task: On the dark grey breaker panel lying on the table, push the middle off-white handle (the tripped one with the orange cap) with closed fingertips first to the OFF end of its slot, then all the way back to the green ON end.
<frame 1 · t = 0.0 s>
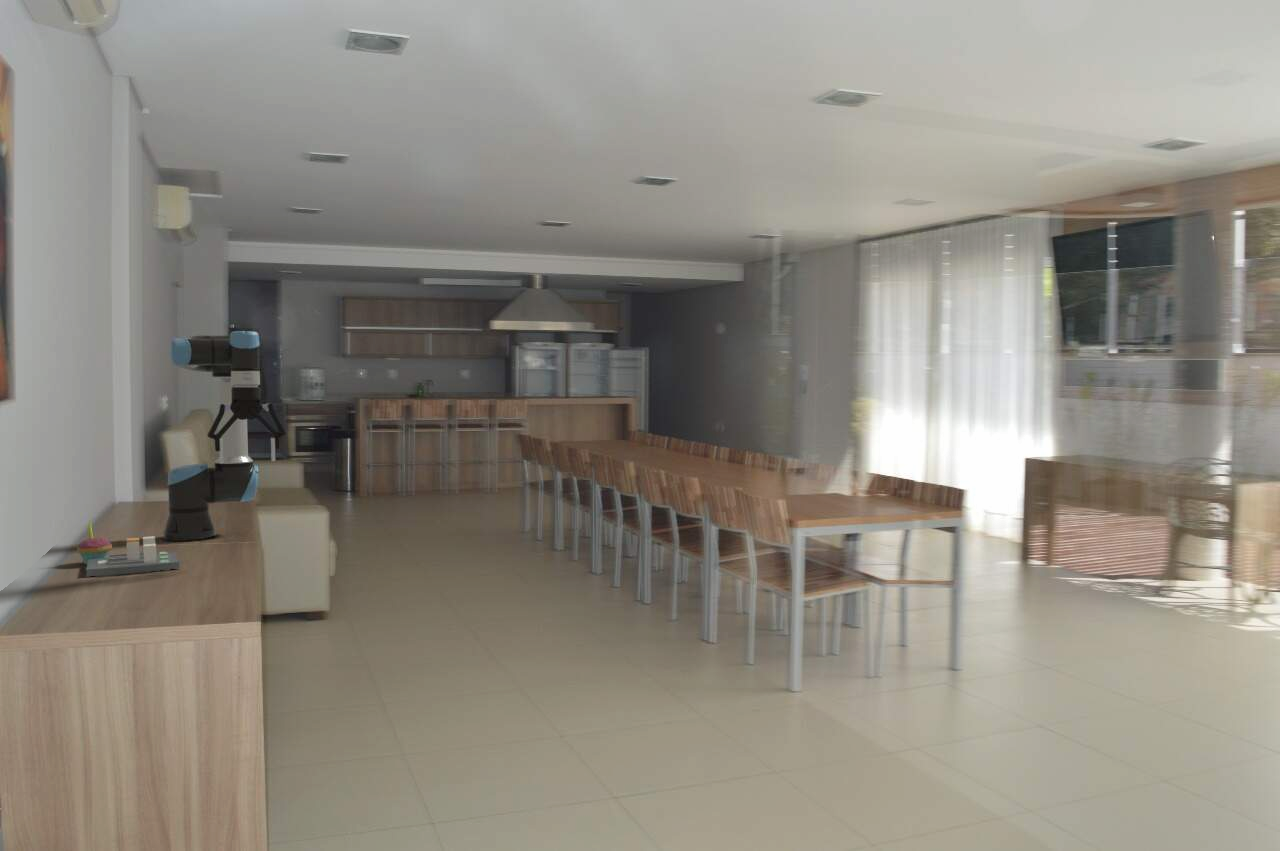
hand: (247, 462, 276), 28 cm above the table, tool pointing down, fingers open, 13 cm apart
cupcake: (95, 564, 274), on the table
panel: (133, 567, 268), on the table
breaker handle: (133, 549, 268), point 5 cm above the table, slide at 4.0 cm
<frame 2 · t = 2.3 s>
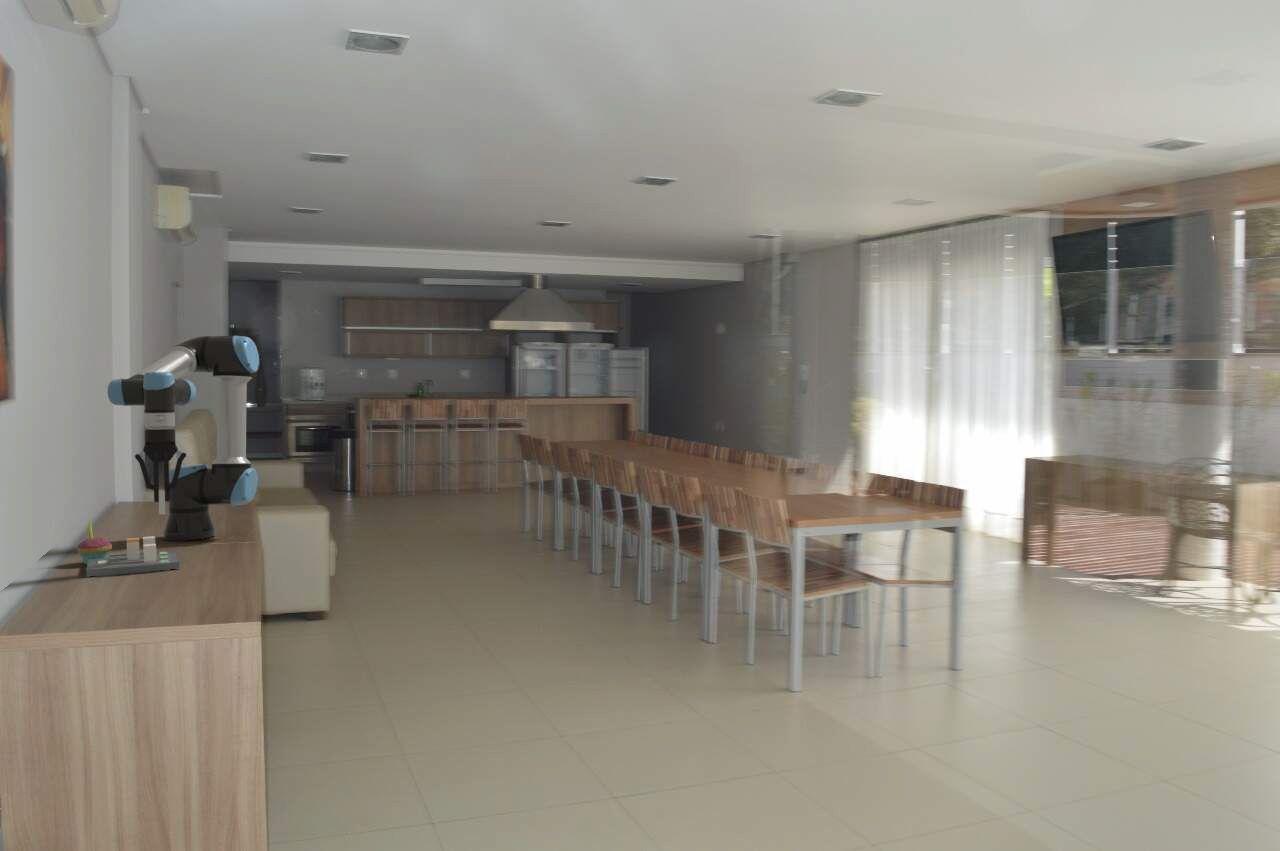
hand: (162, 513, 271), 14 cm above the table, tool pointing down, fingers closed
nothing on the table moved.
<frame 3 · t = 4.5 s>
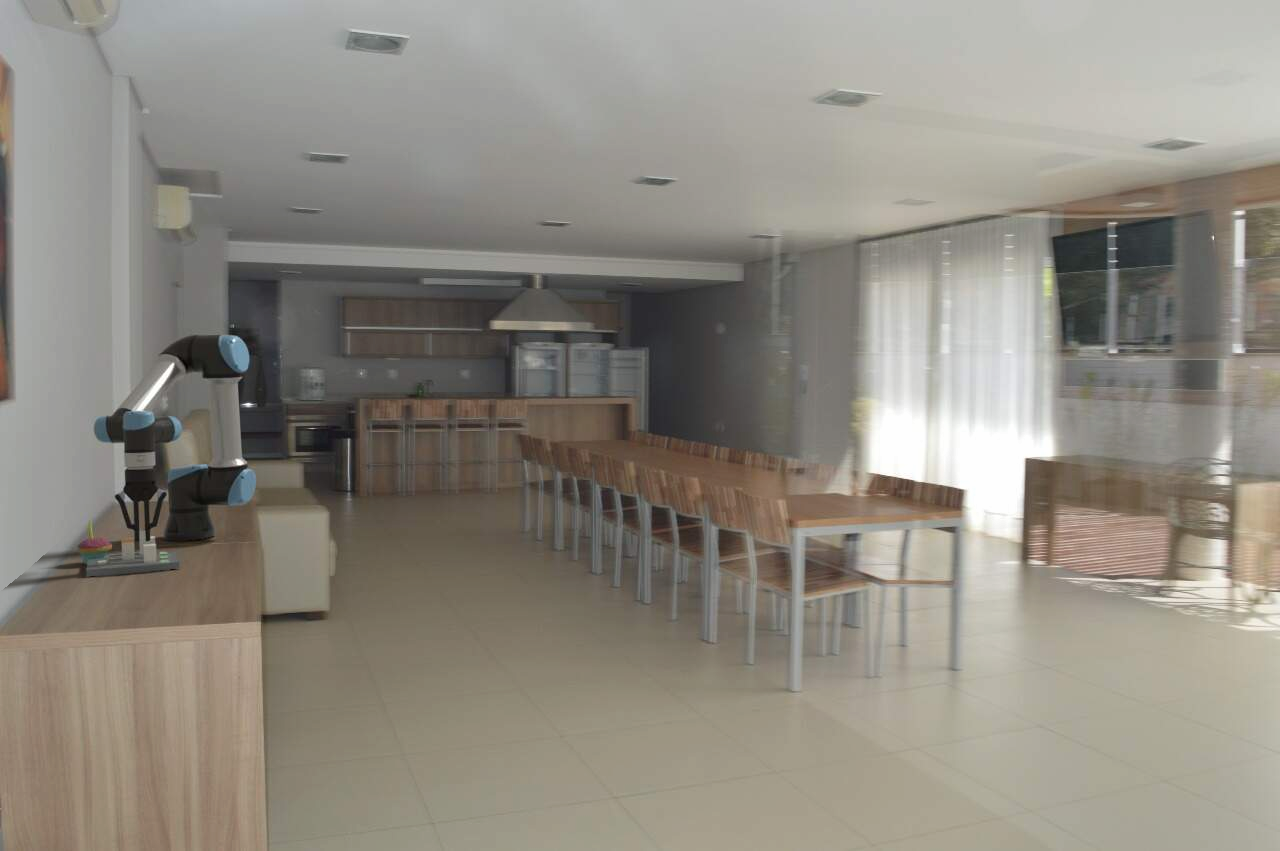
hand: (142, 553, 269), 4 cm above the table, tool pointing down, fingers closed
breaker handle: (128, 549, 268), point 5 cm above the table, slide at 2.8 cm, touching gripper
everything else where it was.
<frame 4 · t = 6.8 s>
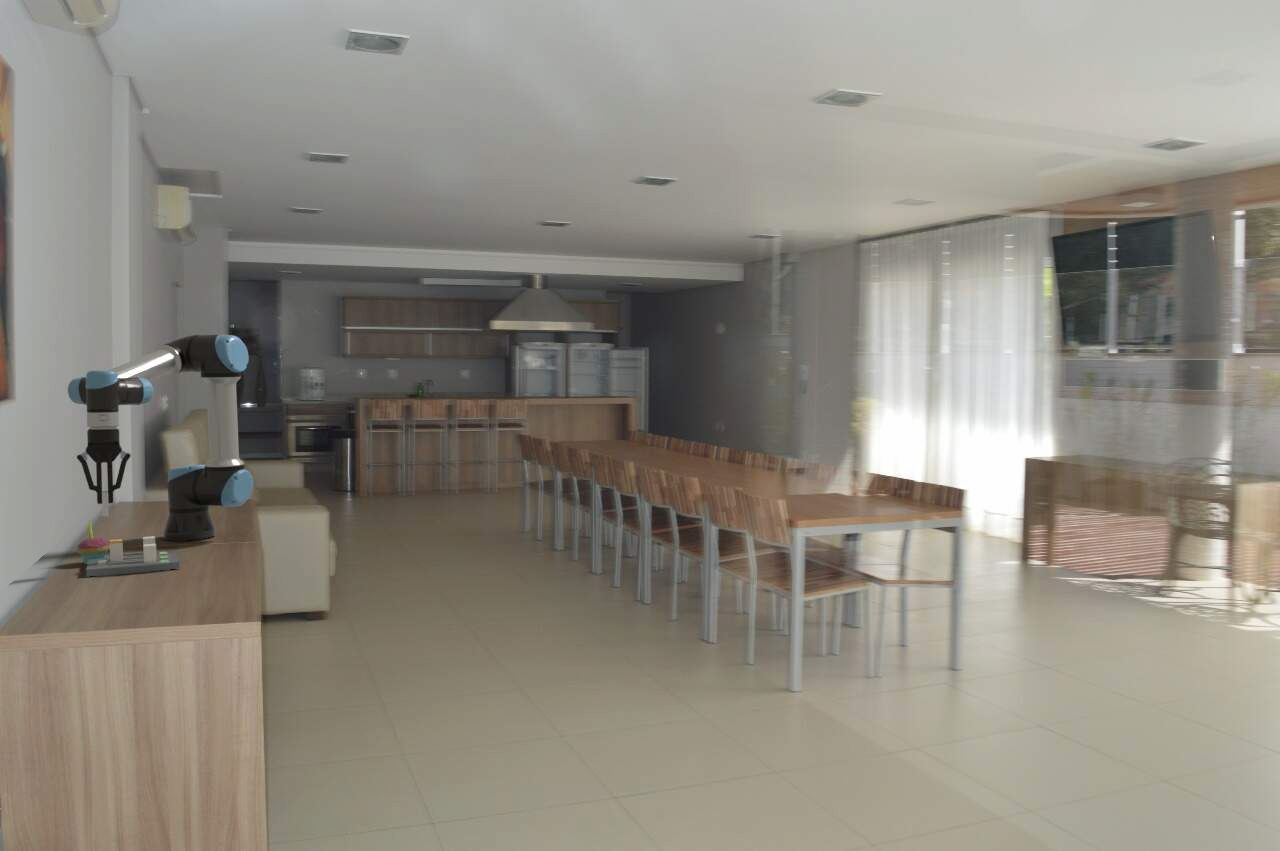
hand: (105, 515, 264), 15 cm above the table, tool pointing down, fingers closed
breaker handle: (116, 550, 266), point 5 cm above the table, slide at 0.0 cm
everything else where it was.
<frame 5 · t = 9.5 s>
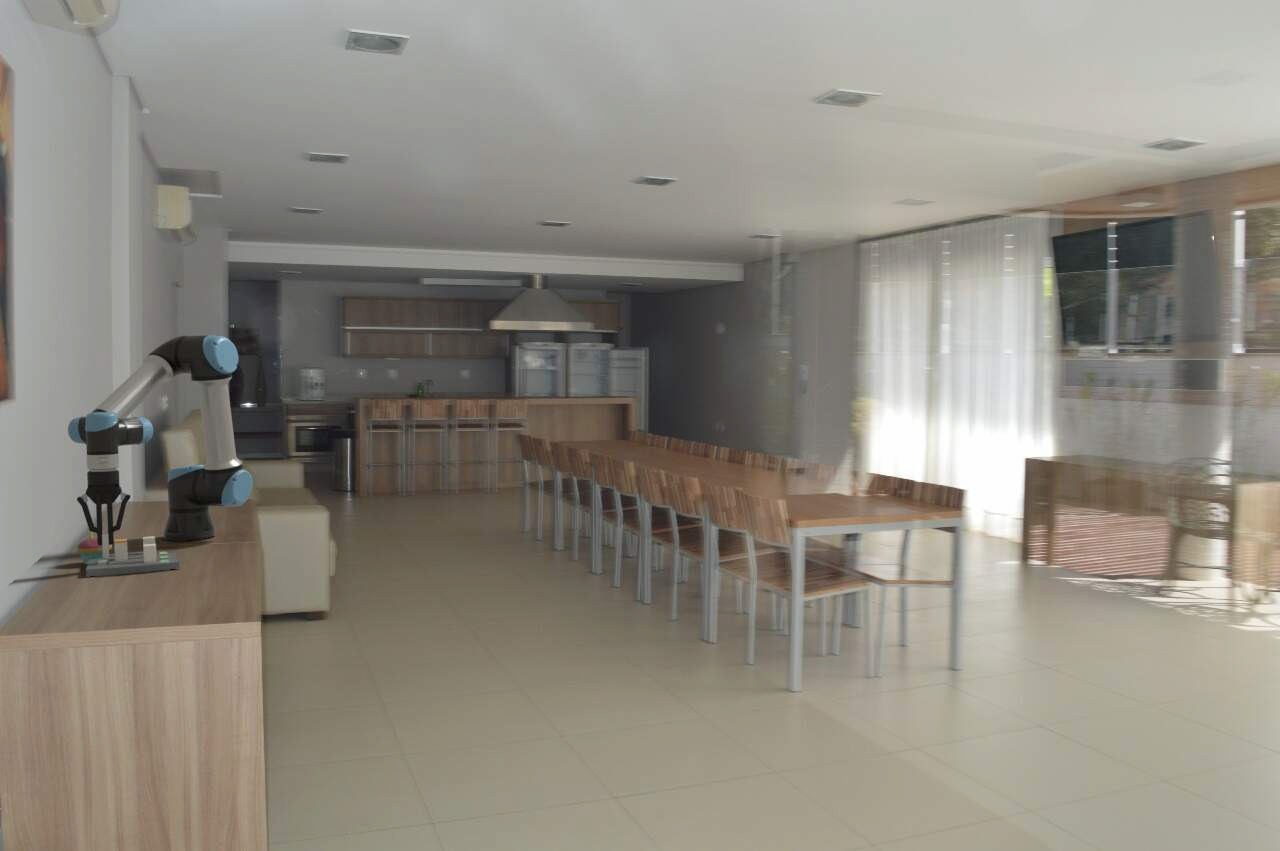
hand: (106, 556, 265), 4 cm above the table, tool pointing down, fingers closed
breaker handle: (121, 550, 267), point 5 cm above the table, slide at 1.1 cm, touching gripper
everything else where it was.
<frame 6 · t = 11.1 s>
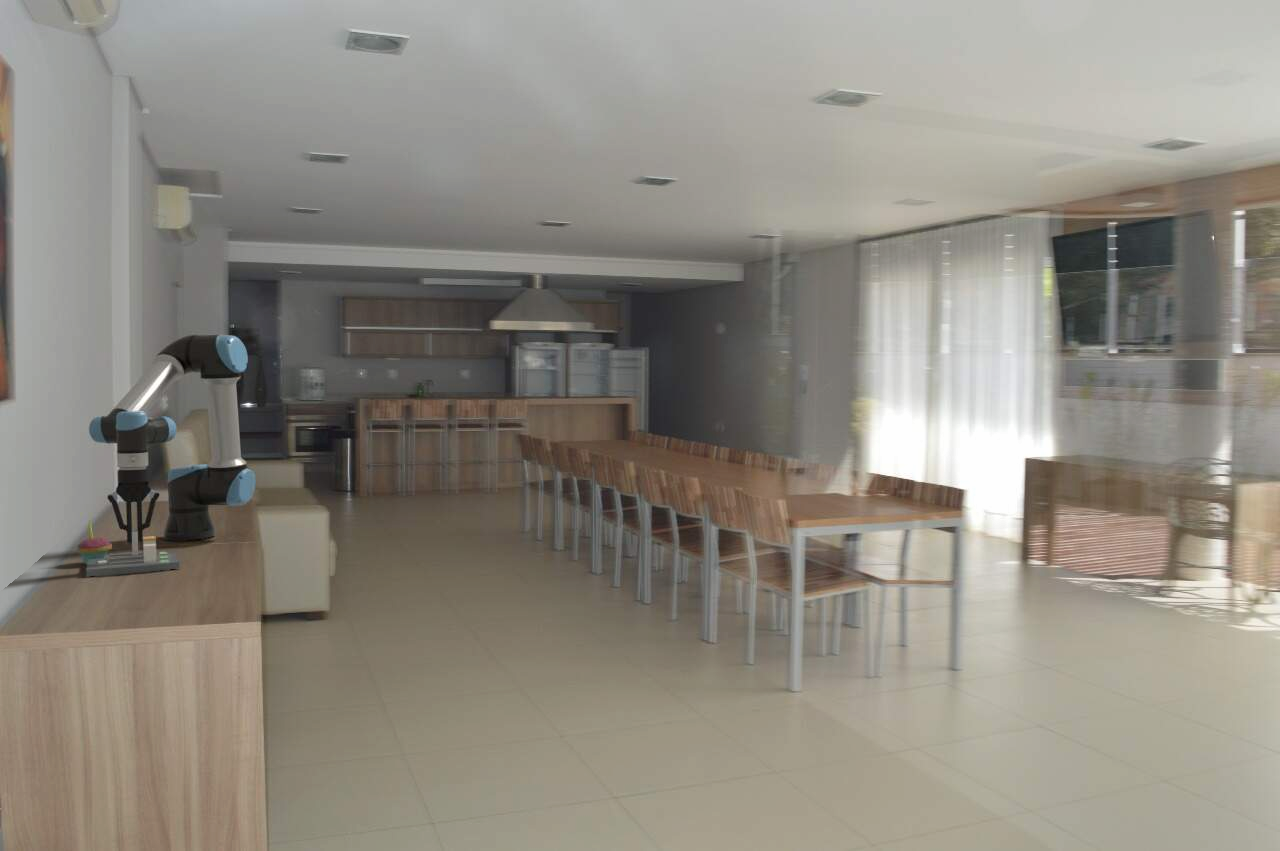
hand: (135, 554, 268), 4 cm above the table, tool pointing down, fingers closed
breaker handle: (149, 547, 270), point 5 cm above the table, slide at 8.1 cm, touching gripper
everything else where it was.
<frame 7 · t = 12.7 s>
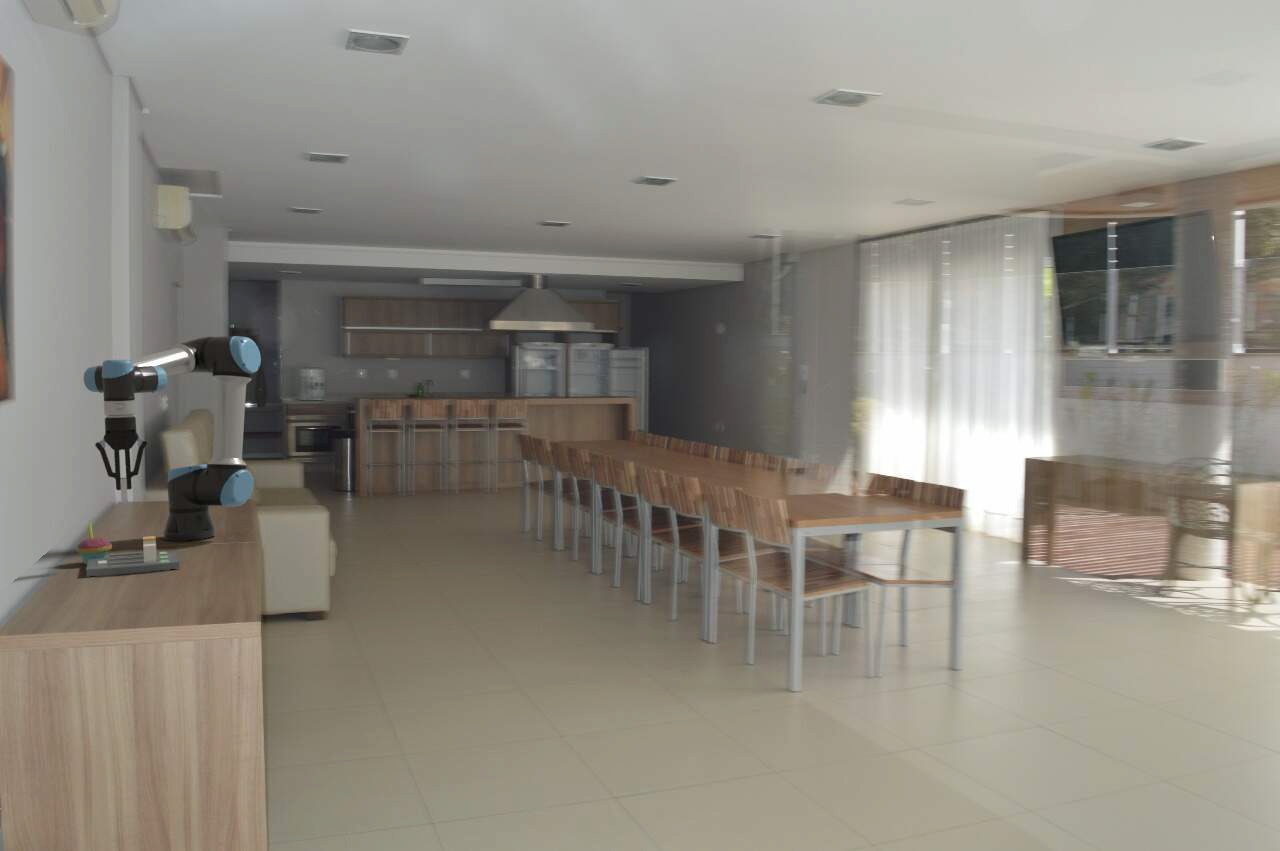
hand: (124, 501, 271), 18 cm above the table, tool pointing down, fingers closed
breaker handle: (149, 547, 270), point 5 cm above the table, slide at 8.0 cm
everything else where it was.
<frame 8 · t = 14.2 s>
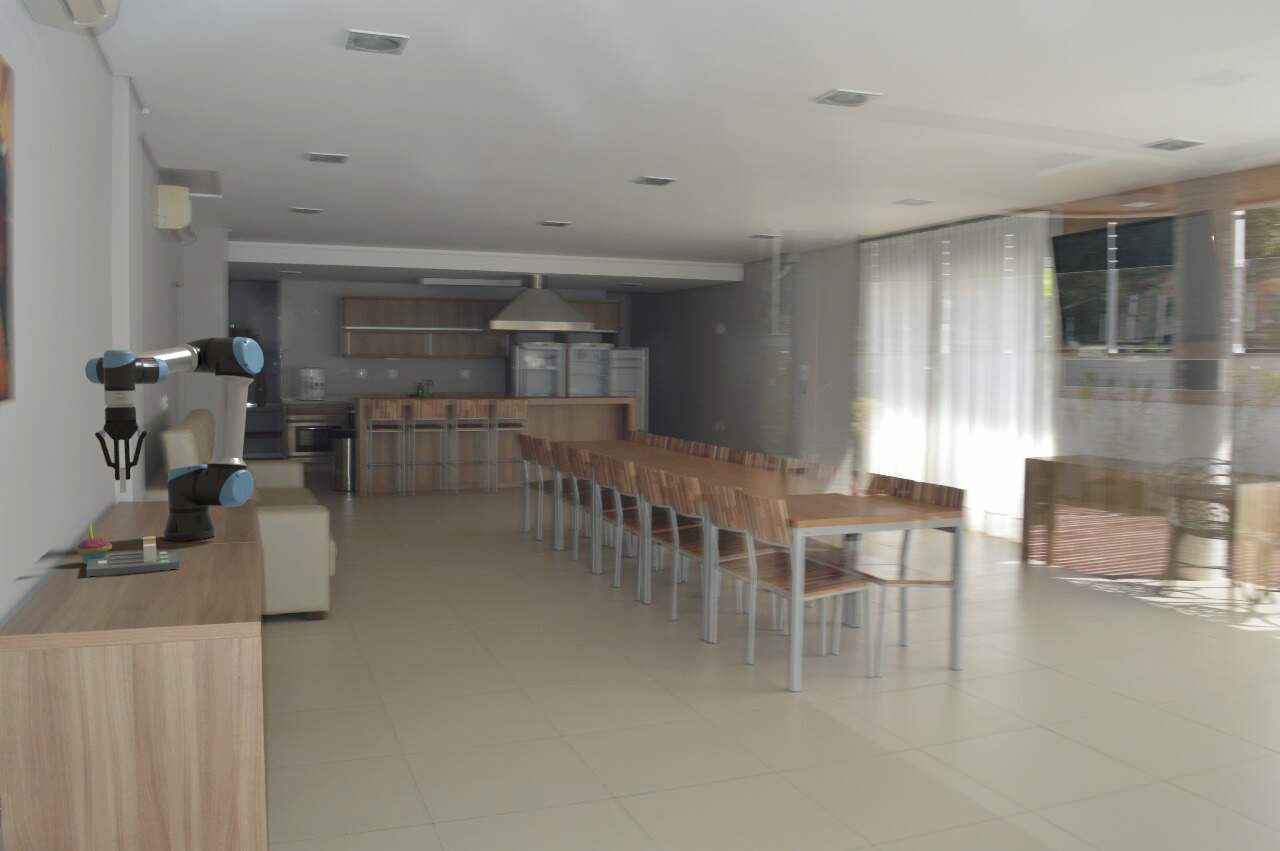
hand: (123, 491, 271), 20 cm above the table, tool pointing down, fingers closed
nothing on the table moved.
at the end: breaker handle slide at 8.0 cm; breaker handle touching nothing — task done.
